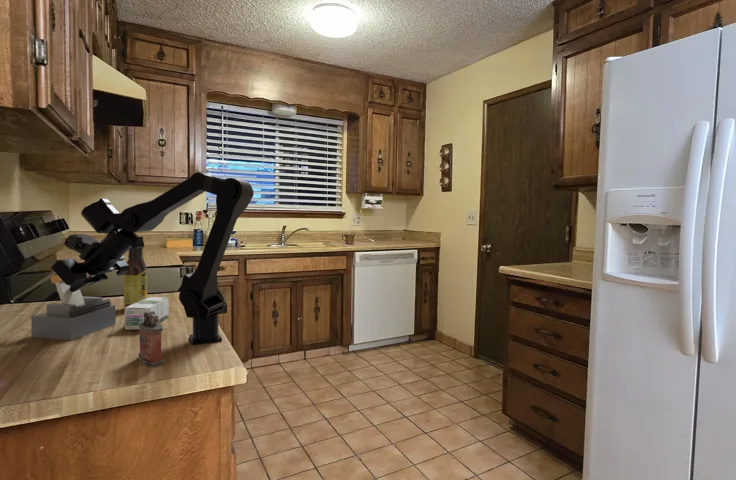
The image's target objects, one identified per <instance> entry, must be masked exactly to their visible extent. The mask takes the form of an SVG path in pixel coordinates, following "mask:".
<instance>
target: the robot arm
mask: <svg viewBox="0 0 736 480" xmlns="http://www.w3.org/2000/svg"><path fill="white" fill-rule="evenodd" d="M205 192H206V193H209V194H211V195H215V196H216V199H215V206H216V215H215V217H214V220H213V223H212V225H211V228H210V231H209V234H208V236H207V239H206V242H205V245H204V247H203V250H202V253H201V256H200V259H199V260H198V261H199V262H198V264H197V267H196V268H195V270H194V271H193V272H191V273H185V274H184V275H183V277H182V281H181V284H180V286H179V288H178V289H177V291H178V292H179V294H178V300H179V301H180V304H181V305H182V307H183V309H184V312H185V315H186V317H187V318H191V319H192V334H189V335H188V338H189V340H190V342H191V344H192V345H198V344H207V343H216V342H222V341H223V338H222V337H221V335H220V333H219V316H220V315H219V312H223V311H224V308H225V306H226V301H225V300H224V299H223V298H222V297H221V295H219V293H217V291H218V286H219V282H218V281H219V280H218V272H219V269H220V266H221V264H222V261H223V258H224V255H225V252H226V250H227V247H228V245H229V242H230V240H231V236H232V234H233V231H234V228H235V226H236V223H237V220H238V219H239V217H240V216H241V215H242V214H243V213H244V212H245V210H246V209H247V208H248V206H249V204H250V203H251V201H252V199H253V198H254V189H253V186H252V185H251V183H249V181H246V180H242V179H239V178H234V177H228V178H227V177H226V178H225V179H224V178H221V177H218V176H217V177H216V176H215V175H214V176H213V175H211V174H209V173H206V172H201V171H198V172H194V173H192V175H190V177H188V178H187V179H185V180H183V181H182V182H180V183H178V184H177V185H175V186H173V187H171V188H170V189H169V190H166V191H165V192H163V193H162V194H160V195H158V196H157V197H155V198H154V199H152V200H149V201H146V202H141V203H138V204H134V205H132V206H129V207H127V208H125V209H123V210H122V211H121V212H119V211H118V210H117V209H116V208H115V207H114V206H113V204H112V202H111V201H110V200H109V199H108V198H99V200H97V201H94V202H93V203H90V204H89V205H87V206H84V207H83V209H82V210H81V212H80V215H81V217H83V219H84V220H85V221H86V222H87V223H88V224H89V225H90V227H92V229H93V230H94V231H95V232H96V233H97V234H107V235H105V237H104V238H102V239H101V240H97V239H96V238H94V237H92V236H90V235H88V234H86V233H85V234H84V233H79V234H77V233H75V234H70V235H68V237H66V238H64V243H63V244H64V246H65V247H66V248H68V249H69V250H71V251H75V252H77V253H79V255H78V257H79V258H80V259H81V260H83V262H78V261H77V260H76V259H75V258H62V259H56V260H55V261H54V262H53V263H52V264H51V266H50V268H51V270H52V271H54V273H55V274H56V275H58V276H59V277H60V278H61V279H62V281H63V282H64V283H65V284H66V285H69V286H70V288H69V289H70V291H71V292H75V291H78V290H80V291H81V290H83V289H85V288H88V287H90V286H92V285H95V284H98V283H101V282H103V281H105V280H107V279H108V278H109V277H108V276H107V273H111V272H113V271H114V270H115V269H116V272H115V275H116V276H117V277H121V276H124V274H125V273H126V272H127V271H128V270H129V265H128V264H127V263H126V262H127V260H125V258H126V257H125V256H124V255H125V254H126V253H127V252H129V249H130V248H131V247H133V248H142V247H143V248H144V247H145V242H144V236H139V235H138V234H137V233H143V232H150V231H151V232H152V231H153V230H155V229H156V228H157V227H158V226H159V225H160V224H162V222H163V221H164V219H165V218H166V216H167V215H169V214H171V213H172V212H173V211H175V210H176V209H178V208H180V207H182V206H184V205H185V204H187V203H189V202H190V201H192V200H193V199H195V198H197V197H198V196H200V195H202V194H203V193H205Z"/></svg>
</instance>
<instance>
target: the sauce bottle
mask: <svg viewBox="0 0 736 480" xmlns="http://www.w3.org/2000/svg"><path fill="white" fill-rule="evenodd" d="M143 249H144V247H142V248H133V247H131V248H130V249H129V250H128V257H127V258H128V259H127V260H126V263H127V264H128V265H129V270H128V271H127V272H126V273H125V274H124V275H123V304H124V306H123V308H124V309H125V308H126V307H128V306H130V305H132V304H134V303H136V302H138V301H141V300H143V299H145V298H147V297H148V268H147V265H146V263H145V260H144V258H143V257H144V256H143V253H144V252H143V251H144V250H143Z"/></svg>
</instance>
